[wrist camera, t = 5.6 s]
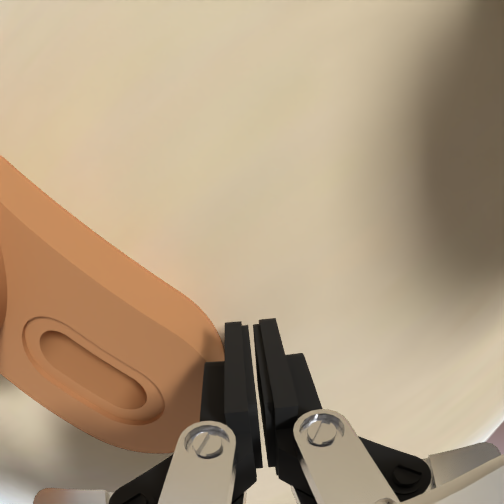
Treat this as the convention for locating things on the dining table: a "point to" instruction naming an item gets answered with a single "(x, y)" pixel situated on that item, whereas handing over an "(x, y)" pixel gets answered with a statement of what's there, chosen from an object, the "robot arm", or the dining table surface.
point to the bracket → (95, 327)
